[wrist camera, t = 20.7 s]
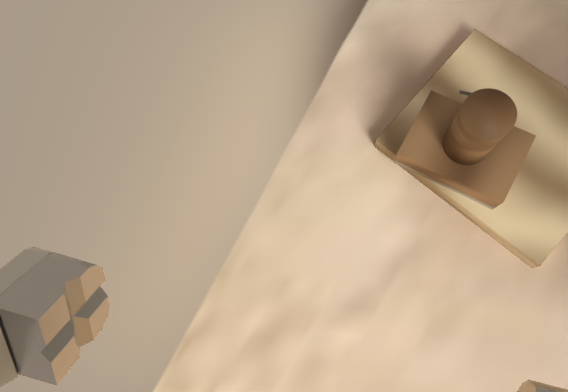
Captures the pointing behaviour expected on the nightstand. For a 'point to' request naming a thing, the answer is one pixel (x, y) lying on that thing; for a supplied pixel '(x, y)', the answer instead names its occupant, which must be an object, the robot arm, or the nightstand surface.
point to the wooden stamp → (468, 145)
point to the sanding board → (530, 117)
